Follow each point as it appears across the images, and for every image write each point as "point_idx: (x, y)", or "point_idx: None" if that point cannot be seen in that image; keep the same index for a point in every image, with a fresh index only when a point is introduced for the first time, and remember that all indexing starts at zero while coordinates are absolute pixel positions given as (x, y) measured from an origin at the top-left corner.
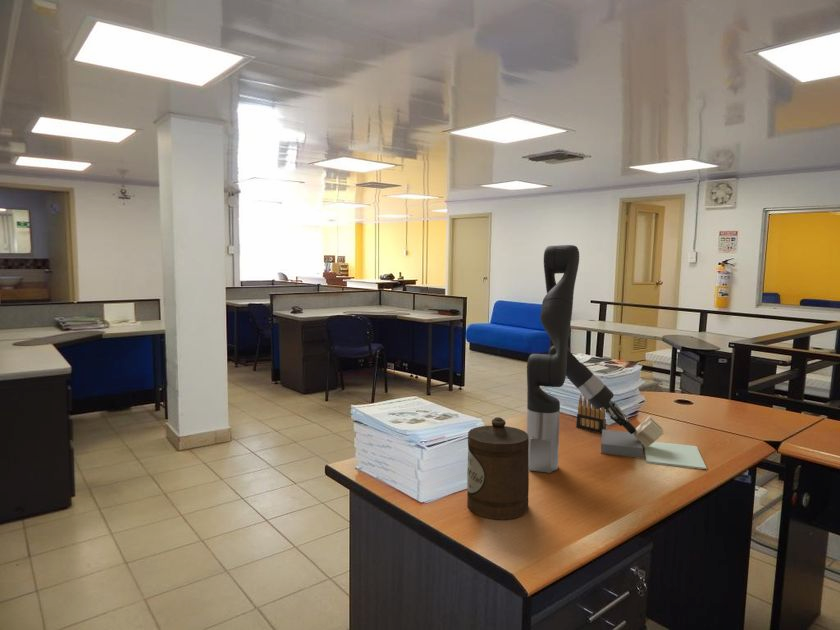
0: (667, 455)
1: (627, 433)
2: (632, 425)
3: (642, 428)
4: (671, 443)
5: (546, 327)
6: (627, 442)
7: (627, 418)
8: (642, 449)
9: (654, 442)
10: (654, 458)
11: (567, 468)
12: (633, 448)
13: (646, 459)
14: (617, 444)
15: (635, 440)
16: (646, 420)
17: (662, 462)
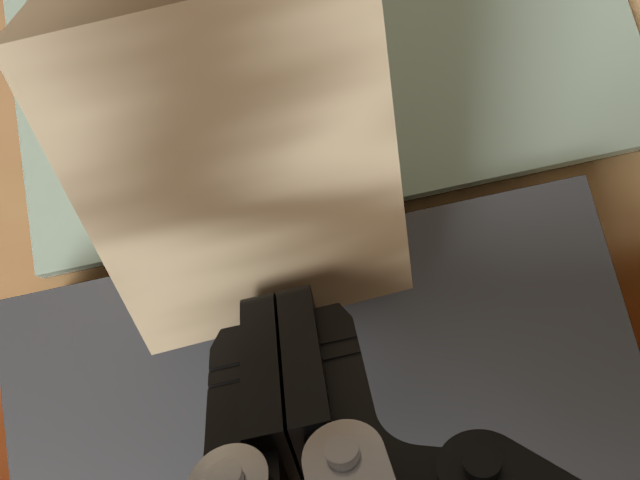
0: (394, 4)
1: (81, 441)
2: (276, 345)
3: (349, 172)
4: (6, 25)
5: None
6: (465, 370)
7: (218, 466)
8: (580, 178)
9: (50, 165)
10: (555, 87)
11: None
12: (607, 272)
13: (631, 146)
14: (623, 468)
15: None
16: (123, 112)
17: (625, 11)
